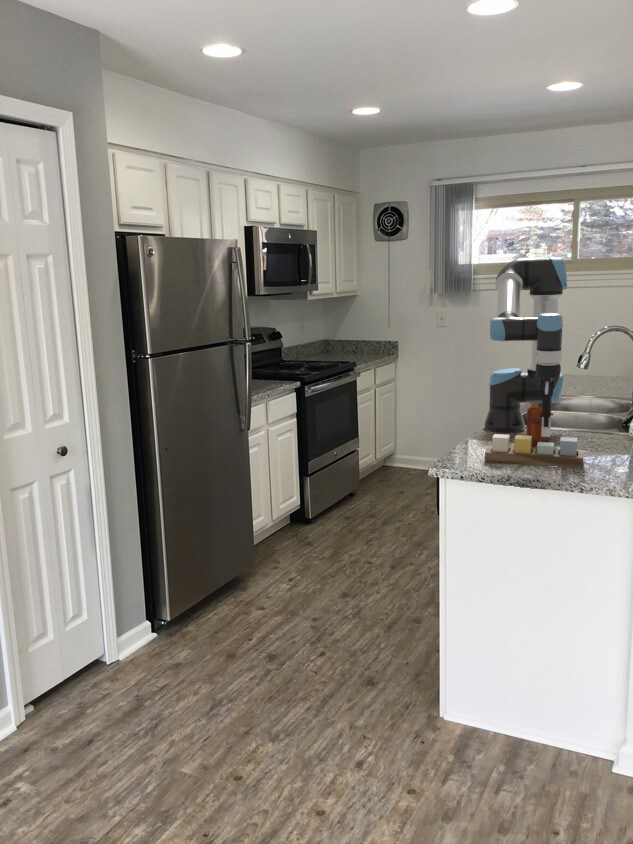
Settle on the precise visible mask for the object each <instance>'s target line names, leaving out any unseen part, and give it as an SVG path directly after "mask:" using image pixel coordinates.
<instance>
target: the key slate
mask: <svg viewBox="0 0 633 844" xmlns="http://www.w3.org/2000/svg"><path fill="white" fill-rule="evenodd" d="M559 442H560V443H559V449H560V455H568V456H577V450H578V437H567V436H566V437H563V436H561V437H560V441H559Z"/></svg>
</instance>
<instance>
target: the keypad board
mask: <svg viewBox="0 0 633 844" xmlns="http://www.w3.org/2000/svg"><path fill="white" fill-rule="evenodd" d="M484 463H485V464H495V463H497V465H513V466H528V467H529V466H531V467H545V466H547V467H548V466H557V467H556V468H561V467H570V468H569V469H578V468H580V469H581V470H582V469H584V449H577V456H568V455H560V448H556V447H554V455H550V454H537V448H536V447H532V448H531V453H514V445H512V446H511V445H510V447H509V452H495V451H492V444H488V445H487V447H486V450H485V452H484ZM547 467H546V468H547ZM548 468H549V467H548Z"/></svg>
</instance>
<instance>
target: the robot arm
mask: <svg viewBox="0 0 633 844" xmlns="http://www.w3.org/2000/svg"><path fill="white" fill-rule="evenodd" d="M567 278H568V277H567V269H566V262H565V260H564V258H563V257H560V256H544V257H520V258H516V259H513V260H512V261H509V262H508V263H507V264H505V265H504V266H503V267H502V268H501V269H500V270H499V272H498V273H497V276H496V277H495V289H496V291H497V302H496V303H497V305H496V306H497V307H496V317H494V318H493V317H492V318H491V319H490V321H489V338H490V340H491V341H498V342H499V341H500V342H509V341H510V342H513V341H515V342H516V341H517V342H521V341H524V342H525V341H531V342H532V343H531V344H532V345H531V346H532V347H531V352H532V353H531V363H530V364H529V365H528V366H527V369H526V372H525V371H523V372H522V369H521V368H520V367H516V368H515V367H512V368H511V367H510V368H509V367H508V368H503V369H497V370H495V371H492V372H491V373H490V375H489V378H490V379H489V383H488V384H489V403H488V405H489V406H488V407H489V408H488V411H487V415H486V416H485V417H486V418H485V420H484V430H486V431H488V432H492V433H497V434H498V433H499V434H510V433H511V434H512V433H513V434H514V433H520V432H523V431H524V430H525V427H526V426H525V425H526V424H525V421H524V416H523V414H522V411H521V403H522V404H528V403H530V404H531V403H532V402H537V403H538V404H542V405H541V408H542V415H540V417H542V431H541V436H545V437H548V438H550V437H551V429H552V427H551V425H552V416H554V413H553V412H552V404H555V403H558V402H559V400H560V398H561V395H562V391H563V384H564V373H563V372H562V370H561V369H562V365H561V364H560V363H562V354H563V353H562V343H563V340H562V339H563V327H564V323H563V315H562V314H560V313H558V312H559V309H558V308H559V298H561V297H562V295H563V290H567V288H568V279H567ZM521 291H529V297H531V298H532V299H533V309H532V310H533V313H532V315H533V316H532V317H520V315H521V313H520V312H521V311H520V308H521V307H520V306H521Z"/></svg>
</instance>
